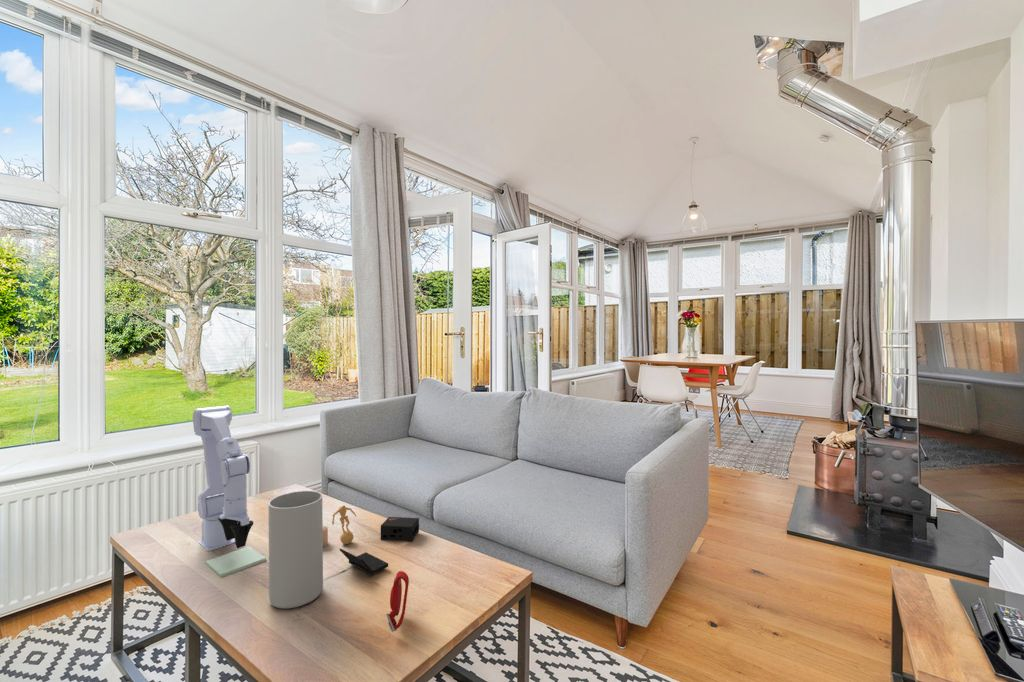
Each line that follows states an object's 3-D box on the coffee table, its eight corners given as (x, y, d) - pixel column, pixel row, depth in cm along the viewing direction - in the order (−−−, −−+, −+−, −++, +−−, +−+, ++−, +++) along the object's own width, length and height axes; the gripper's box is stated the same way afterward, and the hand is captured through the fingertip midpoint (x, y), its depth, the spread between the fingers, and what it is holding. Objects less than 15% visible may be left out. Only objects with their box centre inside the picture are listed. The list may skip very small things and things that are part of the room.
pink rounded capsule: (308, 545, 142) (308, 530, 142) (323, 540, 146) (323, 525, 146) (315, 550, 139) (314, 534, 139) (330, 544, 142) (330, 529, 143)
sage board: (205, 564, 130) (205, 561, 130) (249, 549, 140) (249, 546, 140) (220, 578, 123) (220, 574, 123) (266, 560, 132) (266, 557, 132)
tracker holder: (393, 605, 110) (393, 565, 110) (411, 604, 111) (411, 564, 111) (383, 637, 98) (383, 593, 98) (404, 636, 99) (403, 592, 99)
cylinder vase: (287, 616, 106) (286, 512, 106) (259, 600, 113) (258, 502, 112) (333, 590, 117) (332, 496, 116) (304, 577, 123) (304, 487, 123)
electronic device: (411, 542, 145) (411, 526, 145) (380, 540, 146) (380, 525, 146) (419, 532, 152) (419, 517, 152) (389, 530, 153) (389, 516, 153)
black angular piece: (393, 557, 130) (375, 538, 125) (380, 582, 125) (361, 563, 120) (364, 553, 135) (346, 535, 130) (351, 577, 130) (332, 558, 125)
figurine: (338, 550, 139) (337, 512, 139) (328, 544, 143) (328, 507, 143) (361, 540, 145) (361, 504, 145) (351, 535, 149) (351, 500, 149)
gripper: (210, 495, 133) (211, 540, 133) (229, 507, 124) (230, 555, 124) (237, 489, 138) (237, 532, 138) (256, 499, 129) (257, 546, 129)
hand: (235, 542), depth 131 cm, fingers open, 7 cm apart
